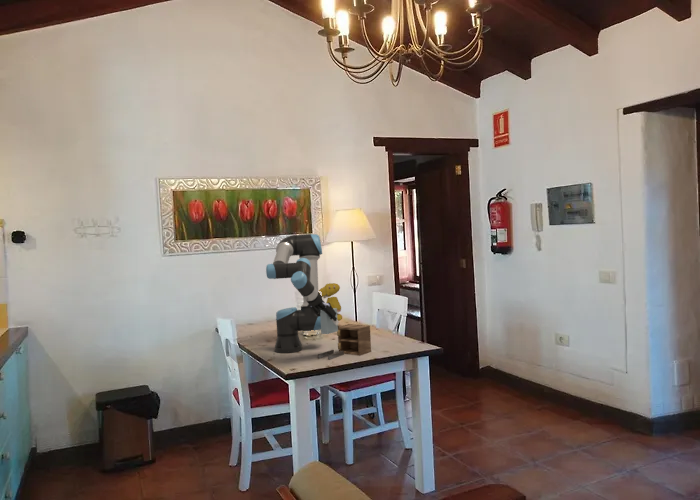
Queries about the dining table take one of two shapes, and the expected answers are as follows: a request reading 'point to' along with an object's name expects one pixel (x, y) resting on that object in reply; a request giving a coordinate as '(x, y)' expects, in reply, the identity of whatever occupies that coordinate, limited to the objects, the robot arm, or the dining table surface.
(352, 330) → the cabinet
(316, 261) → the robot arm
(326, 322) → the grey rectangular block
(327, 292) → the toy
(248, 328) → the dining table surface
